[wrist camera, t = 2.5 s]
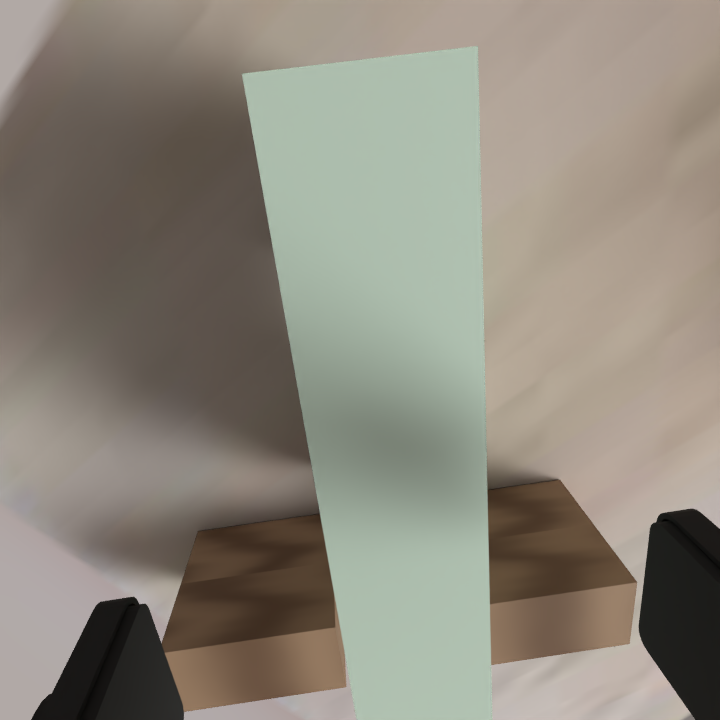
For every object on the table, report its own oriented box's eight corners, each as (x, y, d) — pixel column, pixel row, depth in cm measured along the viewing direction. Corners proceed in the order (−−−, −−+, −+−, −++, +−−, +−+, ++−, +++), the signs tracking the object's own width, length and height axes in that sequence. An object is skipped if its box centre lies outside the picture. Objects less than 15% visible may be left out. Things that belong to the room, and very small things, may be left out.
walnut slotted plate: (213, 582, 31) (180, 712, 24) (198, 531, 30) (158, 653, 22) (557, 531, 32) (629, 643, 25) (560, 479, 30) (636, 582, 23)
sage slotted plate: (290, 127, 22) (241, 73, 8) (379, 116, 22) (477, 45, 8) (341, 468, 29) (361, 751, 15) (409, 458, 29) (492, 730, 15)
